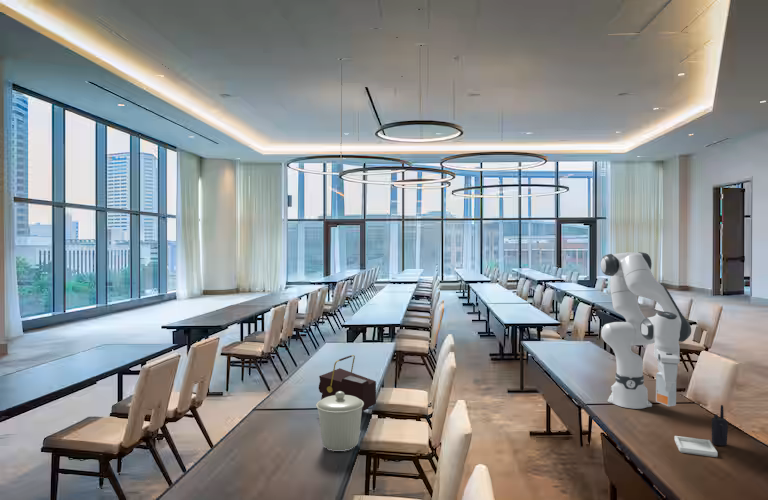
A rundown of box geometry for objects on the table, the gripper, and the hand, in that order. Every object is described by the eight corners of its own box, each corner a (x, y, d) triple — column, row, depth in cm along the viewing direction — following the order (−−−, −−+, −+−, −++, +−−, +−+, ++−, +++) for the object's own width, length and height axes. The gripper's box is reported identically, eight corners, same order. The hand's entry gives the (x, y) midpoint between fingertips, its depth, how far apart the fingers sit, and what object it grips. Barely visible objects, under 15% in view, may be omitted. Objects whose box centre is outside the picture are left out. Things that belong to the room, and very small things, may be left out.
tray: (674, 440, 191) (674, 435, 191) (709, 444, 187) (709, 440, 187) (680, 452, 181) (680, 447, 180) (717, 457, 176) (717, 452, 176)
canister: (320, 459, 177) (320, 401, 176) (313, 440, 194) (312, 386, 193) (369, 453, 182) (369, 396, 181) (358, 434, 199) (357, 382, 199)
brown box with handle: (338, 403, 238) (338, 351, 237) (379, 411, 226) (379, 357, 226) (317, 413, 224) (316, 358, 223) (359, 422, 212) (359, 364, 211)
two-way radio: (723, 442, 189) (723, 403, 189) (731, 447, 184) (732, 407, 184) (709, 442, 189) (709, 403, 188) (717, 447, 184) (717, 407, 184)
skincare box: (655, 402, 198) (655, 372, 198) (662, 400, 200) (663, 371, 200) (668, 406, 193) (669, 376, 192) (676, 405, 194) (676, 375, 194)
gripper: (653, 347, 206) (653, 379, 207) (661, 359, 187) (660, 395, 188) (671, 348, 204) (670, 381, 205) (680, 360, 185) (679, 396, 186)
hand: (666, 388), depth 196 cm, fingers closed on skincare box, 7 cm apart
